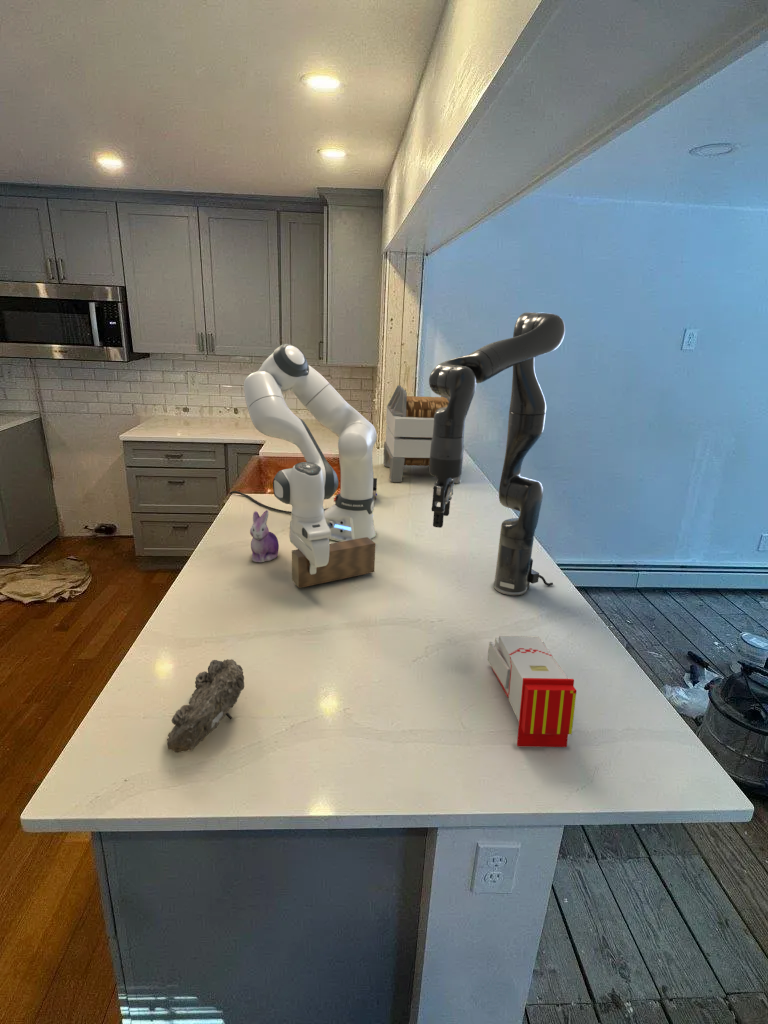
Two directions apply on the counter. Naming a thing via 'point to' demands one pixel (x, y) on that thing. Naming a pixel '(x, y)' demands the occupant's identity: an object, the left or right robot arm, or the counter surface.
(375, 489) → the figurine character
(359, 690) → the counter surface
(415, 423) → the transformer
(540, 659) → the toy
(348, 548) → the bar
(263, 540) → the figurine
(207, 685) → the fossil
